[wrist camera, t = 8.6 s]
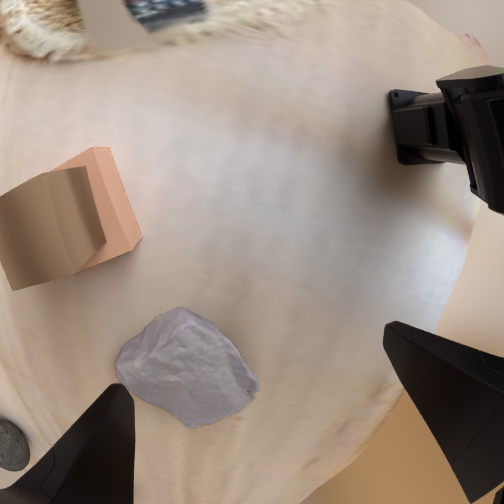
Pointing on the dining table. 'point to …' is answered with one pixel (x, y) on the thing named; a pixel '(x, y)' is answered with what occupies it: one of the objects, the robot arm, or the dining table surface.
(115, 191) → the terracotta block
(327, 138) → the dining table surface
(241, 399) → the stone block
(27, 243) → the walnut cube
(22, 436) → the decorative ball
